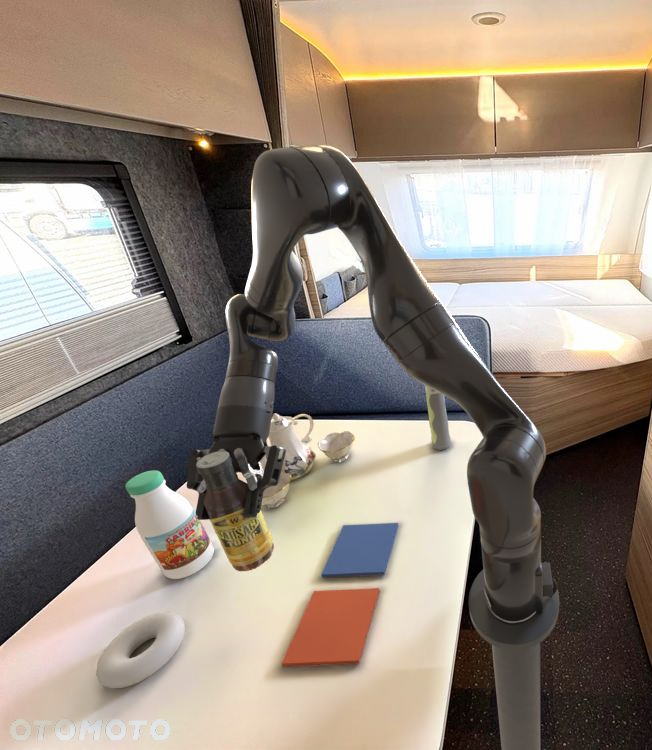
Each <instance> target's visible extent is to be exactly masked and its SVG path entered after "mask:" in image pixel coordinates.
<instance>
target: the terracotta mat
mask: <svg viewBox="0 0 652 750" xmlns="http://www.w3.org/2000/svg"><path fill="white" fill-rule="evenodd" d="M380 593H381V590H380V588H379V587H375V588H373V587H372V588H350V589H349V588H348V589H330V590H329V589H328V590H327V589H326V590H313V592H312V594H311V596H310V599H309V601H308V603H307V604H306V608H305V609H304V611H303V614H302V617H301V619H300V621H299V623H298V625H297V628H296V630H295V632H294V634H293V636H292V639H291V641H290V643H289V645H288V647H287V650H286V652H285V655H284V657H283V659H282V661H281V666H282V667H285V668H287V667H307V666H308V667H309V666H332V665H356V664H357V665H358V664H360V662H361V659H362V656H363V652H364V648H365V645H366V641H367V637H368V634H369V631H370V630H369V629H370V628H371V624H372V621H373V616H374V613H375V610H376V606H377V602H378V599H379V595H380Z"/></svg>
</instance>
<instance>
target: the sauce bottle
mask: <svg viewBox="0 0 652 750" xmlns="http://www.w3.org/2000/svg"><path fill="white" fill-rule="evenodd" d="M196 467H197V470H198V473H199V474H200V475H202V476H203V479H204V481H205V483H206V488H207V492H206V496H205V500H204V505H205V508H206V510H207V512H208V515H209V517H210V520H209V521H210V523H211V525H212V528H213V530H214V532H215V534H216V536H217V538H218V540H219V543H220V545H221V547H222V550H223V551H224V554H225V556H226V558H227V560H228V562H229V563H230V564H231V567H233V569H234V570H235V571H237V572H248V571H253V570H256V569H257V568H258V567H260V566H262V565H264V564H265V563H266V562H267V561H268V560H269V559H271V557H272V555H273V552H274V549H275V545H274V541H273V537H272V534H271V532H270V529H269V527H268V524H267V521H266V519H265V516H264V514H263V512H262V509H261V510H260V512H259V513H257V516H256V517H254V518H244V517H243V513H244V507H245V500H246V494H247V491H250V489H249V487H248V484H247V481H244V480H242V479H241V478H239V476H238V473H235V470H234V468H233V465H232V458H231V456H230V454H229V453H228V452H225V451H218V452H214V453H211V454H208V455H206V456H204V457H202V458H201V459H200V460H199V461H198V462H197V464H196Z"/></svg>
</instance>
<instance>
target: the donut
mask: <svg viewBox="0 0 652 750" xmlns="http://www.w3.org/2000/svg"><path fill="white" fill-rule="evenodd" d="M185 628H186V624H185V620H184V619H183V618H182V617H181V616H180V615H179V614H177V613H174V612H170V611H163V612H156V613H152V614H150V615H146V616H145V617H143V618H141V619H139V620H137V621H135V622H133V623H132V624H130V625H129V626H127V627H126V628H124V629H123V630H122V631H121V632H120V633H118V634H117V635H116V636H115V637H114V638H113V639H112V640H111V642H109V643H108V645H107V646H106V647H105V649H104V650H103V651H102V653H101V655H100V656H99V659H98V661H97V664H96V672H95V675H96V677H97V680H98V682H99V684H100V685H101V686H103V687H106V688H108V689H121V688H122V689H123V688H127V687H130V686H133V685H135V684H139V683H140V682H142V681H144V680H146V679H147V678H149V677H150V676H153V675H154V674H155V673H157V672H158V671H159V670H160V669H162V667H163V666H165V665H166V664H167V663H168V662H169V661H170V659H171V658H172V657H173V656H174V655H175V653H177V650H178V649H179V647H180V646H181V644H182V643H183V639H184V637H185V633H186V629H185ZM151 639H154V641H153V643H152V644H151V645H150V646H149V647H148V648H147V649H146V650H144V651H143V652H142V653H140V654H138V655H136V656H134V657H131V656H132V654H133V653H134V651H135V650H136V649H138V648H139V647H140V646H141V645H142V644H144V643H145V642H147V641H149V640H151Z"/></svg>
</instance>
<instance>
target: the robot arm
mask: <svg viewBox="0 0 652 750" xmlns="http://www.w3.org/2000/svg"><path fill="white" fill-rule="evenodd" d="M250 193H251V196H250V197H251V198H250V200H251V235H252V237H251V238H252V260H251V264H250V269H249V273H248V275H247V279H246V284H245V287H244V293H238V294H236V295H234V296H232V297H231V298H230V299H229V300H228V301H227V304H226V306H225V312H224V315H225V324H226V328H227V333H228V334H227V335H228V341H229V358H228V364H227V369H226V373H225V379H224V383H223V386H222V388H221V390H220V395H219V398H218V405H217V409H216V414H215V418H214V419H215V420H214V425H213V429H212V436H213V443H212V445H211V446H210V448H207V449H201V450H200V449H196V448H194V449H192V450H190V452H189V458H188V468H187V479H186V488H187V489H188V490H193V491H195V492H197V493H198V498H197V503H196V508H195V513H196V516H197V519H198V520H200V521H210V517H209V515H208V512H207V510H206V508H205V505H204V500H205V496H206V492H207V488H206V483H205V481H204V479H203V476H202V475H200V474H199V473H198V470H197V467H196V464H197V462H198V461H199V460H200V459H201V458H202V457H204V456H206V455H208V454H211V453H214V452H218V451H225V452H228V453H229V454H230V456H231V458H232V465H233V468H234V470H235V473H236V474H238V473H240V474H241V475H242V477H243V478H244V479H245V480H246V481H245V482H246V483H247V484H248V487H249V489H250V491H247V494H246V500H245V507H244V513H243V517H244V518H254V517H256V516H257V513H259V512H260V510H261V511H262V506H263V505H262V498H263V492H264V490H265V489H267V488H269V487H271V486H276V485H277V484H278V482H279V478H280V474H281V470H282V466H283V462H284V458H285V454H286V449H285V448H283V447H280V446H275V445H273V446H271V445H268V439H269V433H270V426H271V419H272V417H273V414H274V413H273V412H274V406H275V404H274V403H275V399H276V398H275V397H276V394H275V393H276V391H275V389H276V388H275V387H276V381H277V374H278V367H279V357H278V355H277V353H276V352H275V351H273V350H272V349H269V348H267V347H265V346H262V345H260V344H258V343H256V342H254V341H253V340H252V339H251V338H256V339H257V338H258V339H262V340H267V341H272V342H283V341H285V340H288V339H289V338H291V336H292V335H293V333H294V331H295V328H296V312H295V308H294V307H295V302H296V300H297V298H298V295H299V293H300V291H301V289H302V286H303V283H304V270H303V266H302V264H301V261H300V259H299V258H298V257H297V255H296V254H295V252H294V249H295V247H296V246H297V244H298V242H299V241H300V240H301V239H302V238H303V237H304V236H305V235H314V234H315V235H316V234H319V233H322V232H326V231H329V230H334V229H336V228H337V229H339V231H341V233H343V235H344V237H346V238H347V240H348V241H349V243H350V244H351V246H352V248H353V249H354V251H355V253H356V254H357V255H358V257H359V259H360V261H361V263H362V266H363V269H364V272H365V276H366V277H365V278H366V283H367V285H366V286H367V294H368V295H367V296H368V305H369V311H370V318H371V322H372V326H373V329H374V330H375V331H374V332H375V333H376V335H377V336H378V338H379V340H381V342H382V343H383V345H384V346H385V347H386V349H387V350H388V351H389V353H390V354H391V355H392V357H393V359H394V360H395V361H396V362H397V364H398V365H399V366H400V368H401V369H402V370H403V371H404V372H405V373H406V374H407V375H408V376H410V378H412V379H414V380H415V381H417V382H419V383H420V384H421V385H423V386H424V387H425V386H427V387H429V388H431V389H433V390H435V391H437V392H439V393H441V394H443V395H444V397H447V398H448V399H450V400H452V401H453V402H455V403H456V404H457V405H458V406H459V407H460V408H461V409H463V411H464V412H465V413H466V414H467V415H468V416H469V418H470V419H471V420H472V421H473V423H474V424H475V426H476V427H477V429H478V431H479V432H480V433H481V436H482V439H481V440H480V441H479V443H478V445H477V446H476V447H475V449H474V450H473V452H472V453H471V454H470V456H469V458H468V460H467V464H466V479H467V480H466V481H467V486H468V492H469V498H470V505H471V510H472V514H473V516H474V518H475V520H476V522H477V524H478V525H479V536H480V545H481V546H480V547H481V556H482V567H483V569H484V578H485V588H486V592H485V589H484V593H485V595H486V603H487V607H488V609H489V611H490V613H491V614H492V615H493V616H494V617H495V618H496V619H497V620H499V621H501V622H503V623H506V624H511V625H517V624H522V623H525V622H527V621H529V620H530V619H532V618H533V617H534V616H535V615H536V614H542V613H543V597H545V596H549V597H550V598H552V596H553V595H554V594H555V593H556V591H557V589H558V588H559V586H558V583H557V581H556V580H555V578H554V577H552V570H551V564H550V562H542V512H541V508H540V505H539V503H538V502H537V501H536V499H535V497H534V490H535V489H534V488H535V485H536V482H537V480H538V478H539V476H540V473H541V472H542V469H543V466H544V464H545V461H546V459H547V446H546V441H545V440H544V437H543V434H541V432H540V430H539V429H538V427H537V426H536V425H535V424H534V422H533V421H532V420H531V419H530V417H529V416H528V415H527V414H526V413H525V412H524V410H523V409H521V407H520V406H519V405H518V404H517V403H516V402H515V400H513V398H512V397H511V396H510V394H508V393H507V391H506V390H505V389H504V387H503V386H502V385H501V384H500V383H499V381H498V380H497V379H496V377H495V376H494V374H493V373H492V372H491V370H490V369H489V368H488V366H487V365H486V363H485V362H484V361H483V359H482V358H481V356H480V355H479V354H478V352H477V351H476V350H475V348H474V347H473V345H472V344H471V343H470V342H469V340H468V339H467V337H466V336H465V334H464V332H463V331H462V329H461V328H460V326H459V325H458V323H457V322H456V320H455V319H454V318H453V316H452V314H451V313H450V311H449V310H448V309H447V308H446V306H445V305H444V303H442V300H441V299H440V297H439V296H438V295H437V294H436V293H435V291H434V290H433V289H432V287H431V286H430V284H429V283H428V282H427V280H426V279H425V277H424V276H423V274H422V273H421V271H420V270H419V268H418V266H416V264H415V262H414V261H413V259H412V257H411V256H410V255H409V253H408V252H407V250H406V249H405V247H404V246H403V244H402V242H401V241H400V239H399V237H398V236H397V235H396V233H395V231H394V230H393V227H392V225H391V224H390V222H389V221H388V219H387V218H386V216H385V214H384V213H383V210H382V208H381V207H380V205H379V203H378V202H377V200H376V198H375V196H374V195H373V193H372V191H371V189H370V188H369V186H368V184H367V182H366V180H365V179H364V177H363V176H362V175H361V173H360V172H359V170H358V168H357V167H356V166H355V164H354V162H352V161H351V160H350V158H349V157H348V156H347V155H346V154H345V153H344V152H342V150H340V149H338V148H337V147H335V146H331V145H327V144H311V145H302V146H289V147H287V146H285V147H278V148H273V149H269V150H265V151H264V152H262V153H261V154H259V156H258V157H257V158H256V161H255V162H254V165H253V169H252V175H251V191H250ZM250 337H251V338H250ZM264 456H266V459H267V461H266V465H265V469H264V472H263V469H262V466H261V463H260V461H261V459H262V458H263V457H264ZM261 505H262V506H261Z"/></svg>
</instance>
